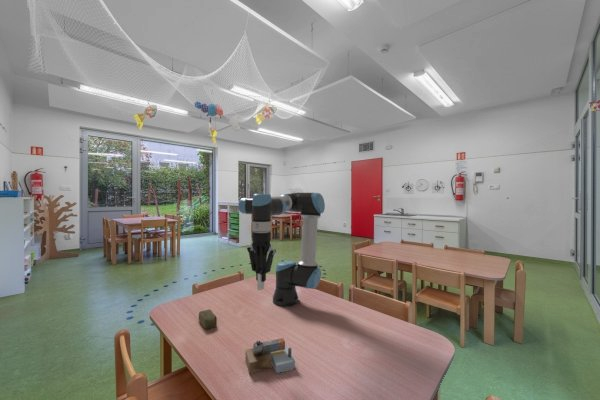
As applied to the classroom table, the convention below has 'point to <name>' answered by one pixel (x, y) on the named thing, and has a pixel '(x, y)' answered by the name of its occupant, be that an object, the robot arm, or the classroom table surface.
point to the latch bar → (268, 346)
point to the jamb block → (257, 361)
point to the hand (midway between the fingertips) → (260, 288)
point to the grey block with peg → (282, 360)
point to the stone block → (207, 319)
